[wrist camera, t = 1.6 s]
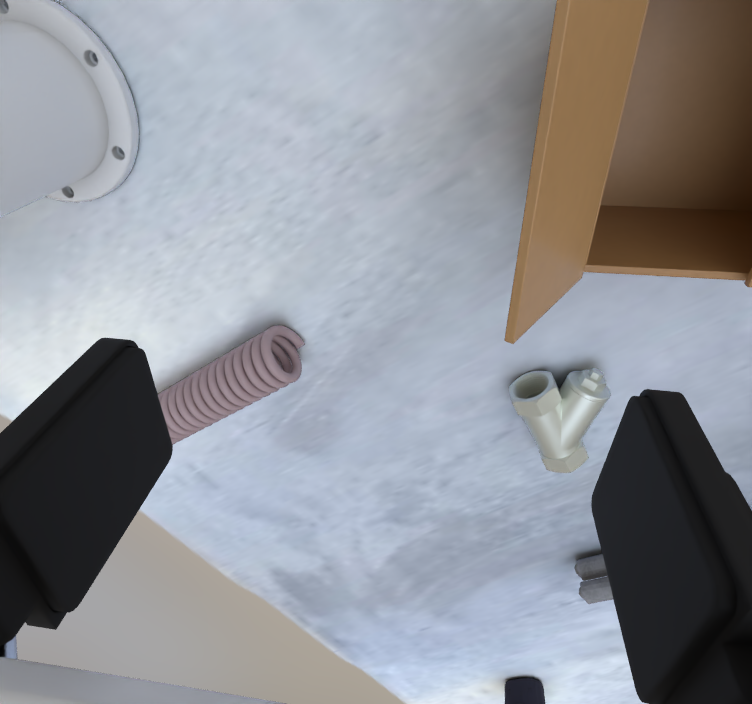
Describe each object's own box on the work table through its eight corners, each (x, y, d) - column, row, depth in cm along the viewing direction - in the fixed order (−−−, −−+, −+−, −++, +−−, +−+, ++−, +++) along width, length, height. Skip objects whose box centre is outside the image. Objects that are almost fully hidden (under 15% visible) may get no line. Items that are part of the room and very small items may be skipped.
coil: (159, 462, 47) (305, 389, 39) (117, 432, 45) (263, 348, 37) (178, 424, 51) (316, 350, 43) (140, 395, 49) (278, 311, 41)
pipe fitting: (591, 347, 39) (506, 378, 41) (606, 377, 36) (513, 409, 38) (621, 421, 42) (541, 446, 45) (637, 454, 39) (550, 480, 41)
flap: (582, 277, 25) (574, 275, 25) (661, -58, 18) (649, -58, 18) (513, 344, 20) (503, 341, 20) (582, -73, 13) (567, -72, 13)
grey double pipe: (880, 478, 41) (925, 531, 37) (886, 499, 42) (930, 552, 38) (568, 551, 52) (576, 599, 48) (579, 567, 53) (588, 614, 49)
